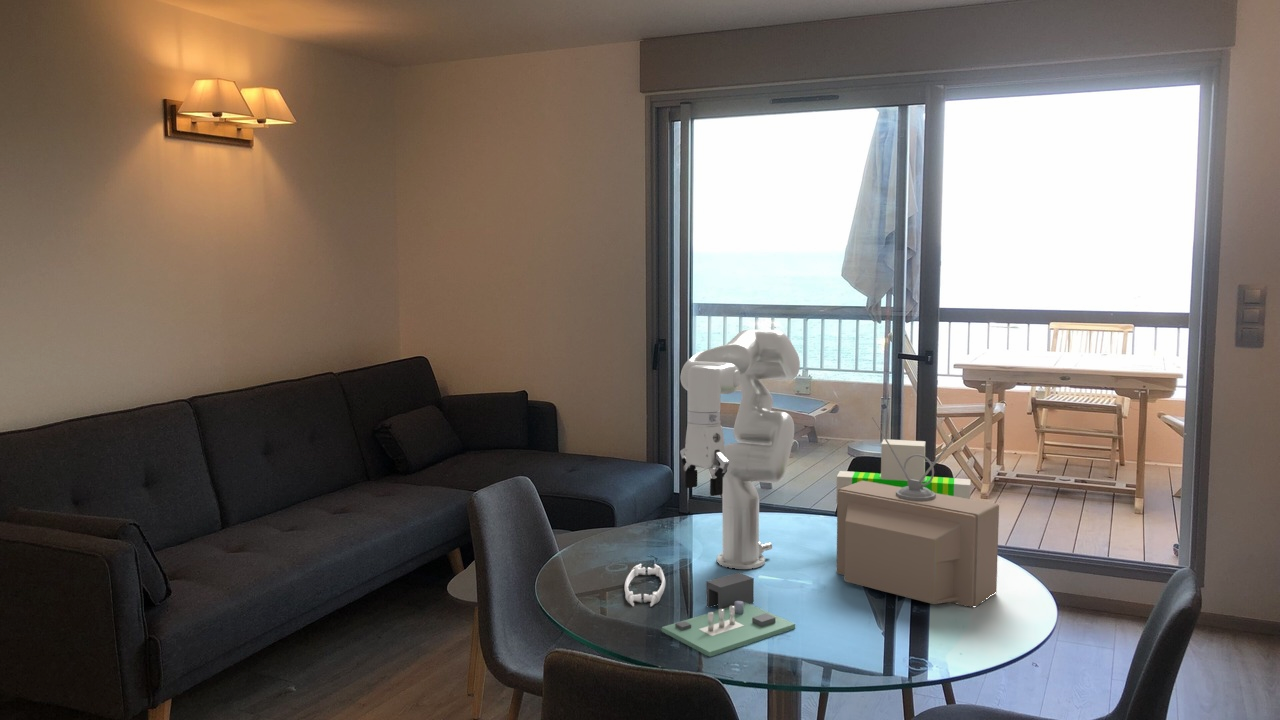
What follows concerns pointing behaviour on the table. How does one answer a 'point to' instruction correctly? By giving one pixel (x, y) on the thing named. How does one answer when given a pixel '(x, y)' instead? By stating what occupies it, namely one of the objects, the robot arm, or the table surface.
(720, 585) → the block
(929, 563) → the television
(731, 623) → the pins
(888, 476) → the toy
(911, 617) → the table surface
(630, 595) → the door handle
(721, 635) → the board
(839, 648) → the table surface
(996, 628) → the table surface
